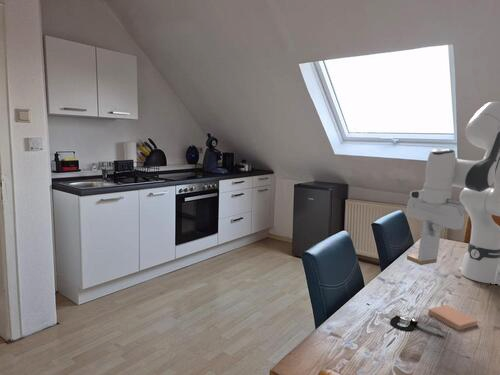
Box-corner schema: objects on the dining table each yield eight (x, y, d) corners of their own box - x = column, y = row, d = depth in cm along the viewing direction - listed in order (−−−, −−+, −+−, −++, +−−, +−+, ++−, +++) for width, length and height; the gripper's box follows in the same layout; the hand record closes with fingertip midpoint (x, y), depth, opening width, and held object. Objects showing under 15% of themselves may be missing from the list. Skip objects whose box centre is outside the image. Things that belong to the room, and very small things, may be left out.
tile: (446, 304, 128) (477, 320, 118) (445, 310, 128) (476, 326, 118) (428, 309, 124) (459, 325, 114) (427, 314, 124) (458, 331, 114)
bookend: (422, 256, 137) (427, 216, 134) (436, 262, 132) (442, 220, 129) (406, 259, 133) (412, 217, 131) (420, 265, 128) (426, 221, 126)
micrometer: (386, 325, 115) (387, 318, 115) (395, 318, 120) (395, 310, 120) (437, 346, 105) (439, 338, 105) (445, 337, 111) (446, 329, 110)
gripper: (471, 202, 119) (465, 243, 121) (418, 190, 137) (413, 226, 139) (458, 203, 116) (452, 245, 118) (405, 191, 134) (401, 228, 136)
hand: (430, 235), depth 129 cm, fingers closed on bookend
